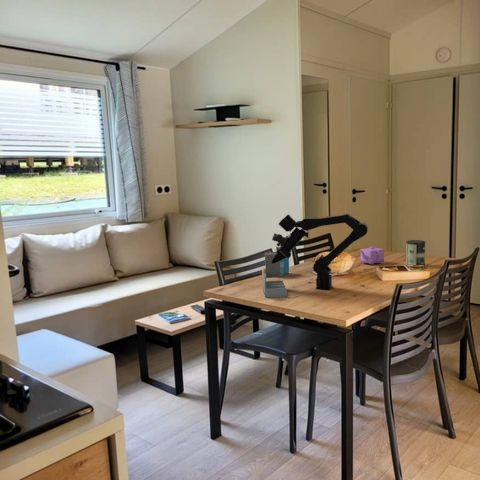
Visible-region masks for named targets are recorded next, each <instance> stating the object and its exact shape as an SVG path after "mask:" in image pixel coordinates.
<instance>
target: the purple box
mask: <svg viewBox="0 0 480 480" xmlns="http://www.w3.org/2000/svg"><path fill="white" fill-rule="evenodd" d="M359 252H360V263H362V262H365V263H369V264H368V265H370V264H374V263H380V262H383V263H384V262H385V249H383V248H378V247H375V246H374V245H373V246H370V247H369V248H360V250H359ZM365 263H364V264H365ZM380 264H381V263H380ZM374 265H375V264H374Z"/></svg>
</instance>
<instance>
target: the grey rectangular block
mask: <svg viewBox="0 0 480 480" xmlns="http://www.w3.org/2000/svg"><path fill="white" fill-rule="evenodd" d="M276 254H277V252H276V251H267V252H266V251H264V264H265V266H264V269H265V275H266V279H269V278H270V279H271V278H281V276H282V275H281V273H280V261H278V262H276V263H274V264H272V263H271V262H272V260H273V259H274V257H275V256H276Z"/></svg>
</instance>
